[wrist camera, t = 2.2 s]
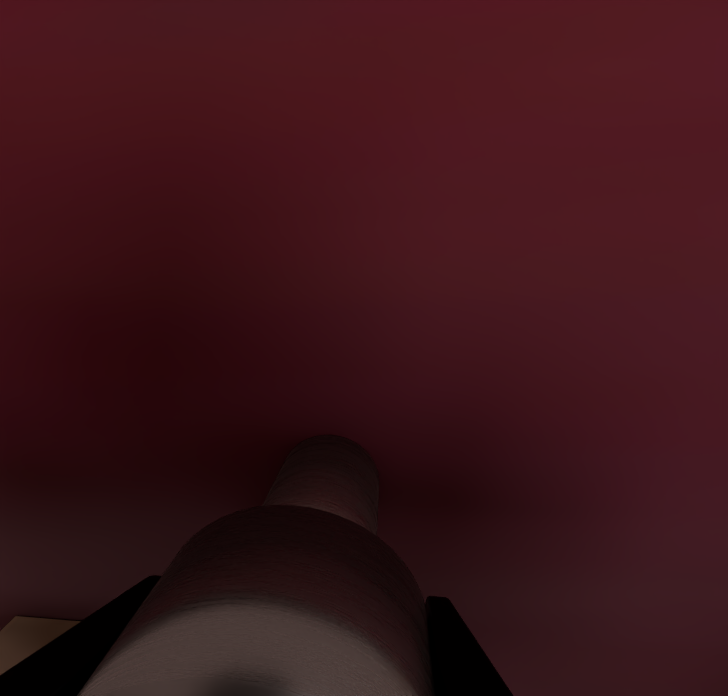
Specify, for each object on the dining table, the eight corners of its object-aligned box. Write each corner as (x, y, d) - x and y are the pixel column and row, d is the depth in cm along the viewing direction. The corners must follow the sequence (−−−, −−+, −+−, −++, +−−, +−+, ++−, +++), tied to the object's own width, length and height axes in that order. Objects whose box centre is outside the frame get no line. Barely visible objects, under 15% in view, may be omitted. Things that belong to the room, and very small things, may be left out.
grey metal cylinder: (417, 407, 12) (473, 703, 4) (407, 557, 13) (436, 1018, 5) (246, 398, 12) (-14, 661, 4) (251, 545, 13) (50, 970, 5)
